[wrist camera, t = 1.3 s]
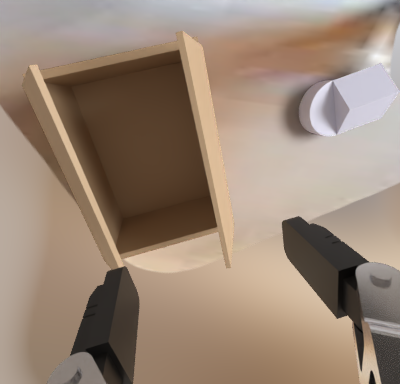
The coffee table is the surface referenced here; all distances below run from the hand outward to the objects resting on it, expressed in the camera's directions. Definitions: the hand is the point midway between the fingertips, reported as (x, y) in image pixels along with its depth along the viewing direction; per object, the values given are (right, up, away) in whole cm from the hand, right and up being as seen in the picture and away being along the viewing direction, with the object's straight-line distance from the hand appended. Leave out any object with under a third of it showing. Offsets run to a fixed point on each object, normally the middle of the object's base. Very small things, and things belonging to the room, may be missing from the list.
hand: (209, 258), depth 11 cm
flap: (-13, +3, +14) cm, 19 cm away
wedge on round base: (+23, +19, +32) cm, 44 cm away
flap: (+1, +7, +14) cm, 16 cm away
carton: (-9, +11, +29) cm, 32 cm away
